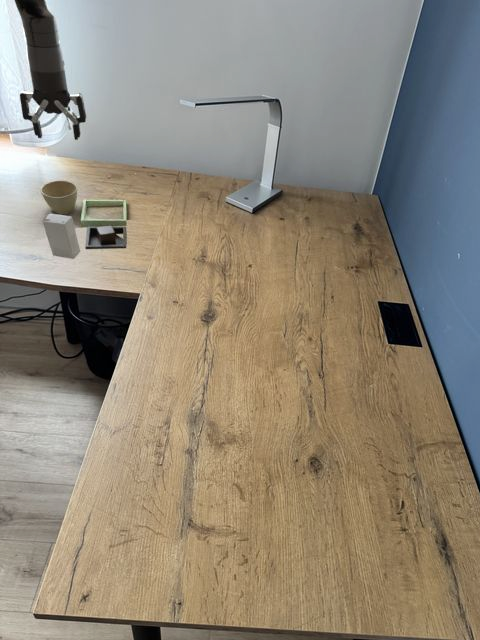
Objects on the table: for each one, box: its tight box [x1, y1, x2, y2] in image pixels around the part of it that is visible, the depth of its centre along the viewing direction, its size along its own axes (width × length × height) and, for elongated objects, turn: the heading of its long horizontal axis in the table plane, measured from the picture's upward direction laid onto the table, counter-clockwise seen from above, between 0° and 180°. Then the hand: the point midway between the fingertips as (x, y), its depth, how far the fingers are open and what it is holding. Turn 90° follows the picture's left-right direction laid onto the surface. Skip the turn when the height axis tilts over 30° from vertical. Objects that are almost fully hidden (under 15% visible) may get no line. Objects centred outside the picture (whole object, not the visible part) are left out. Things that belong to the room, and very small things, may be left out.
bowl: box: [40, 180, 78, 215], centre depth 149 cm, size 10×10×7 cm
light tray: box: [80, 199, 128, 228], centre depth 150 cm, size 13×13×3 cm
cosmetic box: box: [42, 213, 81, 260], centre depth 129 cm, size 6×4×12 cm
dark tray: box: [84, 226, 128, 250], centre depth 140 cm, size 11×11×3 cm
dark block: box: [97, 226, 116, 245], centre depth 139 cm, size 4×4×4 cm
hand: (58, 137), depth 125 cm, fingers open, 8 cm apart
